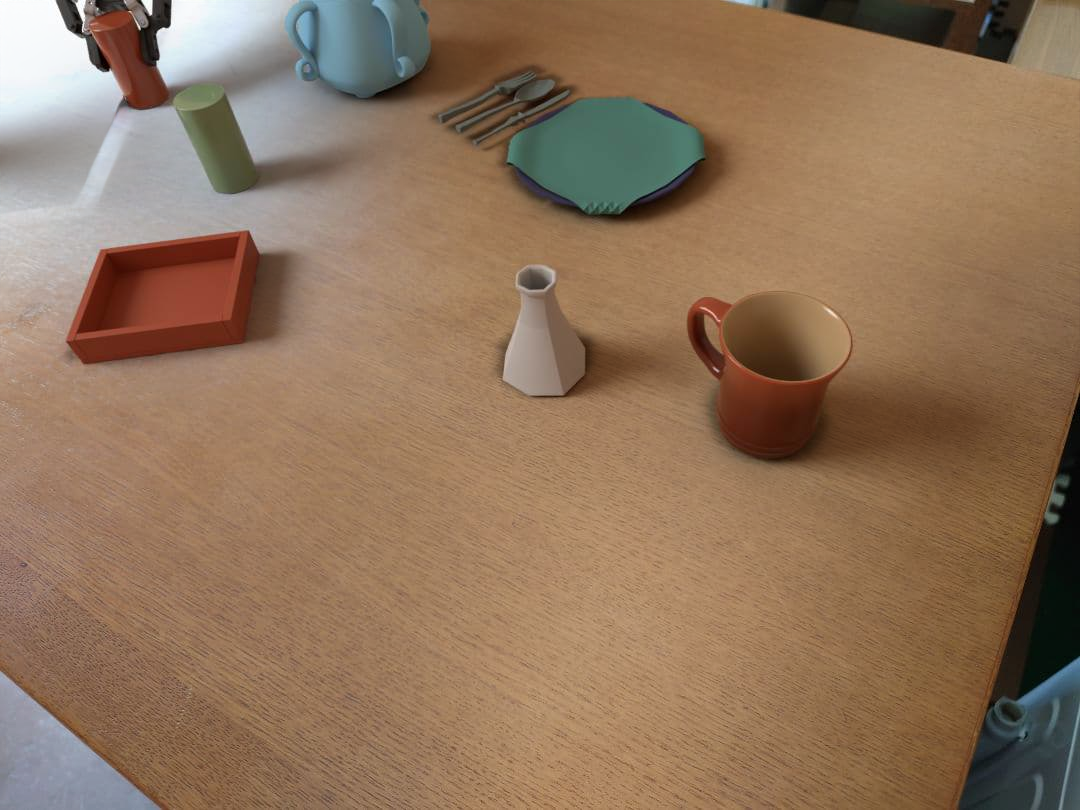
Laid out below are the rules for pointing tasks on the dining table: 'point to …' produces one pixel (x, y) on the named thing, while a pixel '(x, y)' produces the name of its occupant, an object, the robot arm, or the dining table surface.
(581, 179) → the cutlery set
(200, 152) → the sage canister
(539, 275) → the flask
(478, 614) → the dining table surface
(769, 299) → the mug
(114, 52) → the terracotta canister
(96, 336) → the terracotta tray
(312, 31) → the decorative pot
